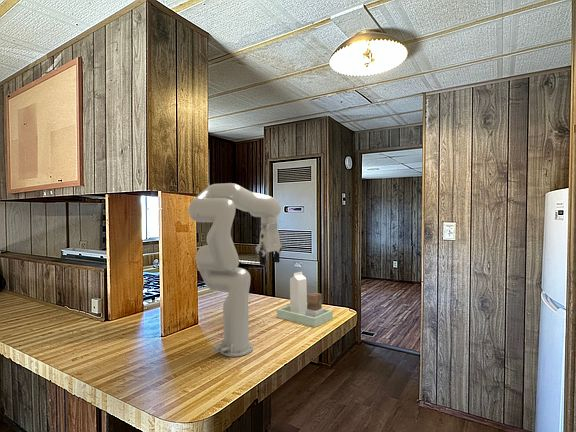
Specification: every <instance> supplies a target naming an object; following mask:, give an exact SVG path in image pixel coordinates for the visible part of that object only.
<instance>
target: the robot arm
mask: <svg viewBox="0 0 576 432" xmlns="http://www.w3.org/2000/svg"><path fill="white" fill-rule="evenodd" d="M237 209H238V210H240V211H242V212H247V213H249V214H250V216H252V217H254V218H260V219H261V220H260V224H261V225H260V228H261V230H260V232H259V233H260V234H259V244H257V246H256V247H255V251H256V253H257V256H258V257H259V265H260V266H266V256H265V255H266V254H267V253H272V252H273V253H274V254H273V262H274V263H281V261H280V255H281V252H282V250H283V249H282V248H283V244H282V243H281V236H280V232H279V229H278V216H279V215H280V213H281V210H282V208H281V204H280V202H279V201H278V200H277V198H275V197H274V196H273V197H272V196H270V195H268V194H263V193H259V192H254V191H250V190H249V189H246V188H244V187H243V186H241V185H239V184H237V183H234V182H233V183H232V182H227V183H213V184H210V185H209V186H207V187H206V188H204V189H203V190H202V191H201V192H199V194H198V195H196V196H195V197H194V198H193V200H191V201H190V203H189V206H188V215H189V217H190V219H191V220H193V221H194V222H196V223H212V225H211V227H210V229H209V231H208V232H207V234H206V243H207V244H205V245H203V246H200V248H198V249H197V250H196V251H197V252H196V254H195V263H196V267H197V271H199V274H200V275H201V278H202V280H203V282H204V284H205V286H206V288H208V289H209V290H210V291H211V292H221V293H228V294H227V297H225V300H224V301H223V305H222V311H223V312H222V316H223V317H222V319H223V320H222V322H223V327H222V328H223V339H221V343H219V344H218V345H215V346H213V348H212V350H213V352H214V353H218V352H219V353H220V354H221V355H223V356H226V357H231V358H232V357H236V358H237V357H242V356H246V355H248V354H250V353H251V352H252V351H253V350H254V345H253V343H252V342H250V339H249V338H250V337H249V336H250V335H249V333H250V332H249V329H250V328H249V327H250V325H249V294H250V287H251V278H252V277H251V274H250V272H249V270H247V269H245V268H242V267H239V265H240V259H239V255H238V252H237V248H236V246H235V243H234V241H233V238H232V235H231V231H232V226H233V222H234V219H235V216H236V210H237Z"/></svg>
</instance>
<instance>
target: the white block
mask: <svg viewBox="0 0 576 432" xmlns="http://www.w3.org/2000/svg"><path fill="white" fill-rule="evenodd" d="M324 309H325V308H324V307H322V309H320V310H317V311H313V310H309V309H305V315H306V316H310V317H317V316H319V315H321V314H323V313H324Z"/></svg>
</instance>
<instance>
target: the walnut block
mask: <svg viewBox="0 0 576 432" xmlns="http://www.w3.org/2000/svg"><path fill="white" fill-rule="evenodd" d="M322 296H323V295H322V293H318V292H310V293H308V294H307V309H309V310H313V311H317V310H320V309H322V308H323V306H322V304H323V301H322Z"/></svg>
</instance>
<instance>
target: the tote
mask: <svg viewBox="0 0 576 432" xmlns="http://www.w3.org/2000/svg"><path fill="white" fill-rule="evenodd" d="M276 317H277V319H283V320H284V321H289V322H294V323H298V324H301V325H305V326H307V327H308V326H309V327H313V328H317V327H319V326H321V325H323V324H325V323H327V322H329V321H331V320H333V319H334V317H333V309H327V308H324V313H323V314H321V315H319V316H317V317H310V316H306V315H302V314H297V313H293V312H290V304H287V305H285V306H282V307H280V308H277V309H276ZM316 326H317V327H316Z"/></svg>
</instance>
